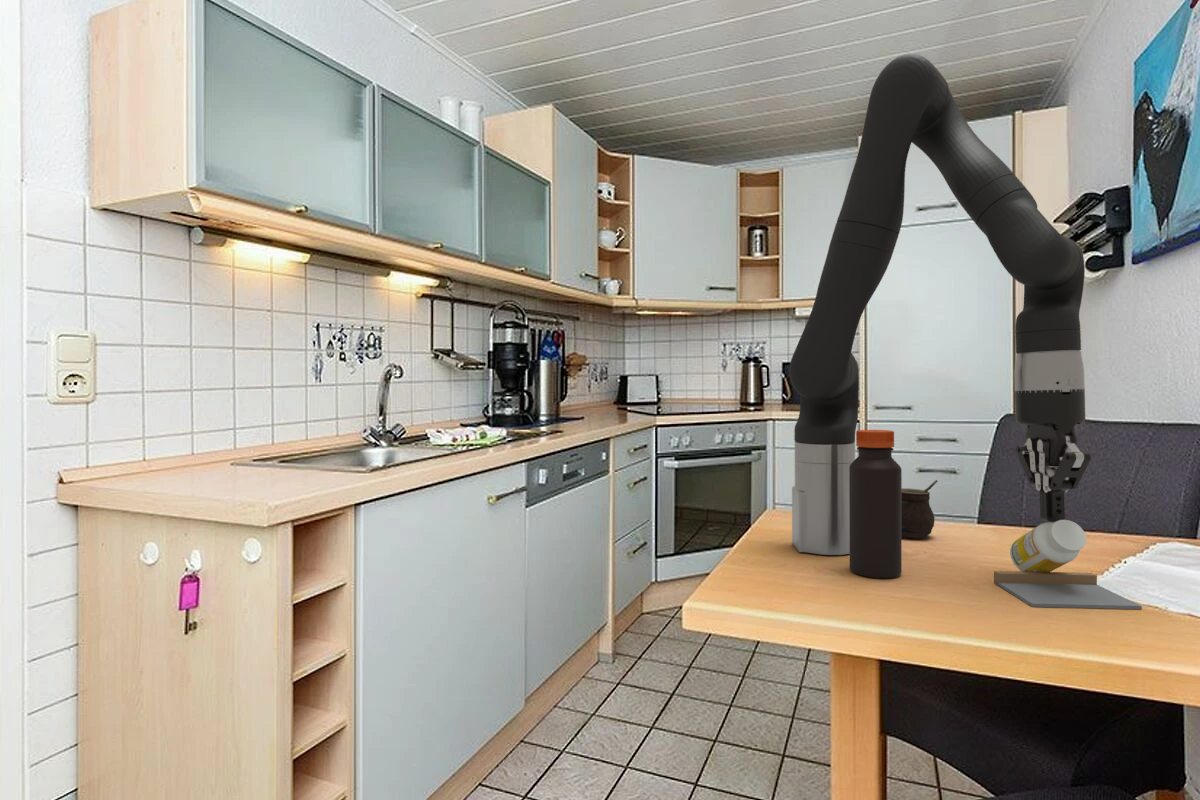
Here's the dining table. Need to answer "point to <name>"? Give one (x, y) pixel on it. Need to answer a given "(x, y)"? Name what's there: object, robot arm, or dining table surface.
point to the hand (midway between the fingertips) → (1052, 520)
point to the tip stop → (1060, 590)
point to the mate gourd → (916, 513)
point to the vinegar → (875, 507)
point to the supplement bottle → (1048, 546)
